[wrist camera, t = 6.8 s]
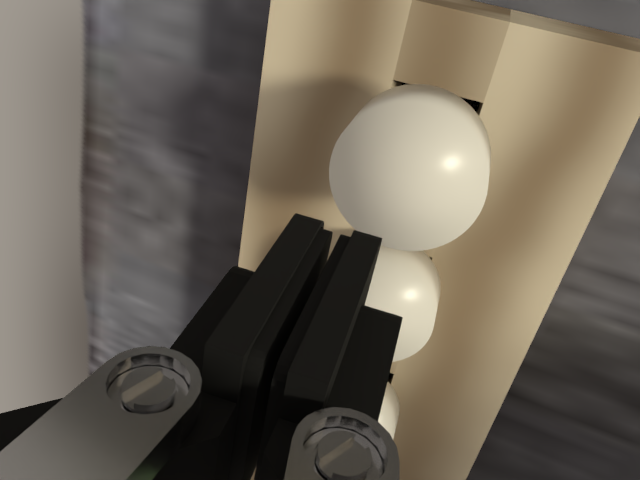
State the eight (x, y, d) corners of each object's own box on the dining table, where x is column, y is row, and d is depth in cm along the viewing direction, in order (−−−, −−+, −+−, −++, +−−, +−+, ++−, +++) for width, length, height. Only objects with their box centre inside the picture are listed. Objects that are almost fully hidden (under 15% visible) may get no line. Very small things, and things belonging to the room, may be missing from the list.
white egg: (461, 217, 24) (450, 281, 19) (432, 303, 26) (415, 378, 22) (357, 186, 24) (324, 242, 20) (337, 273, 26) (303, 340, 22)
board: (646, 40, 19) (667, 58, 17) (432, 514, 33) (425, 564, 30) (303, -39, 21) (274, -33, 19) (233, 440, 34) (211, 481, 32)
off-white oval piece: (512, 81, 19) (512, 126, 15) (471, 200, 21) (460, 269, 17) (381, 48, 20) (345, 83, 15) (355, 167, 22) (317, 226, 18)
